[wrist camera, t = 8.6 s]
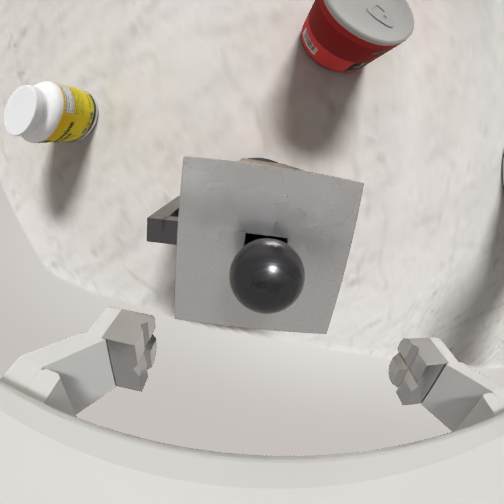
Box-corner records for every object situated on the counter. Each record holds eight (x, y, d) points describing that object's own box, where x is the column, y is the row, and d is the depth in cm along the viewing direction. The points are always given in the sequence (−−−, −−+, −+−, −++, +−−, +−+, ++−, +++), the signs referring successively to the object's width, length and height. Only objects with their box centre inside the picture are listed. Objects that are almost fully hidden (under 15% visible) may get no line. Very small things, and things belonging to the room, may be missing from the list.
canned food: (352, 87, 26) (399, 61, 16) (287, 50, 25) (306, 4, 14) (376, 40, 24) (424, 7, 13) (316, 5, 22) (343, -44, 12)
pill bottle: (63, 149, 27) (2, 155, 17) (56, 104, 25) (-4, 97, 15) (104, 130, 27) (45, 127, 16) (96, 83, 25) (39, 64, 14)
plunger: (296, 182, 27) (363, 227, 11) (285, 248, 29) (325, 358, 13) (226, 172, 27) (194, 203, 11) (218, 240, 29) (187, 347, 13)
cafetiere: (311, 166, 29) (367, 180, 15) (295, 258, 32) (328, 336, 18) (190, 150, 28) (139, 150, 14) (182, 244, 32) (137, 315, 18)
